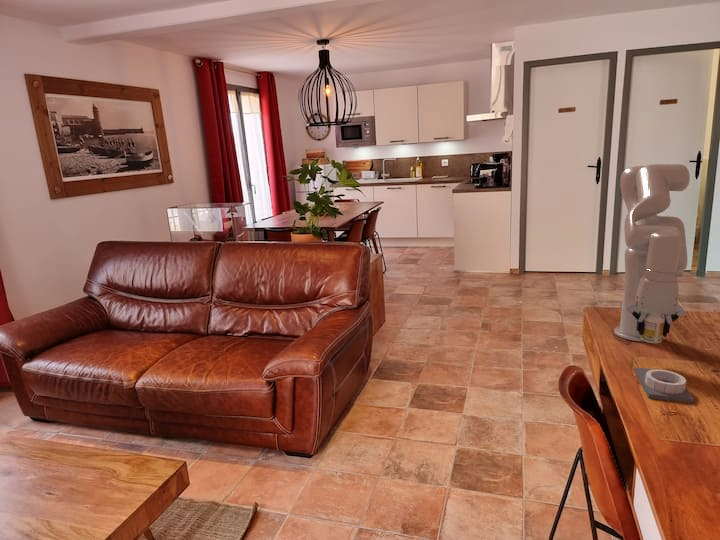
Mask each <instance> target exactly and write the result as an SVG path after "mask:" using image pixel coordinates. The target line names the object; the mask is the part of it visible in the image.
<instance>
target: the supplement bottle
mask: <svg viewBox="0 0 720 540" xmlns="http://www.w3.org/2000/svg"><path fill="white" fill-rule="evenodd" d="M643 321H644V331H643V335H641V339H642V340H644V341H646V343H650V344H659V343H662V341H663V337H664V336H663V330H664V323H665V317H664V315H663V314H646V316H645V318H644V320H643Z"/></svg>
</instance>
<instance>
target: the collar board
mask: <svg viewBox="0 0 720 540" xmlns="http://www.w3.org/2000/svg"><path fill="white" fill-rule="evenodd" d="M634 373H635V375H636V376H637V378H638V380H639V383H640V384H641V386H642V388H643V391H644V392H646V393H645V394H646V396H647V398H648V399H654V400H661V401H670V402H679V403H689V404H695V403H694V401H695V398H694V397H693V396H692V393H691V392H690V391H689V390H688V388H687V380H686V378H685V377H684V376H683V375H681V374H679V373H677V372H676V371H674V370H666V369H656V368H655V369H654V368H645V367H634Z"/></svg>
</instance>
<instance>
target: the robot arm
mask: <svg viewBox="0 0 720 540" xmlns="http://www.w3.org/2000/svg"><path fill="white" fill-rule="evenodd" d="M690 179H691V177H690V172H689V169H688V167H687V166H686V165H684V164H682V163H681V164H678V163H672V164H669V163H665V164H664V163H663V164H662V163H661V164H660V163H657V164H647V165H639V166H637V165H635V166H630V167H628V168H626V169H625V170H623V171H622V173H621V175H620V180H619V181H620V191H621V192H620V193H621V196H622V198H623V199H622V200H623V201H624V203H625V205H626V209H627V214H626V217H625V219H624V227H623V228H624V229H623V230H624V241H625V245H626V247H627V248H625V252H624V287H623V296H622V303H621V314H620V321H619V322H620V323H619V325H618V326H616V327H615V328H614V330H613V332H614V334H615V335H616V336H618V337H620V338H621V339H625V340H628V341H634V342H643V343H644V342H646V341H644V340H642V339H641V335H643V331H644V321H643V320H644V318H645V316H646V314H663V315H662V316H663V317H664V318H665V323H664V330H663V337H666V338H667V336H668V334H670V330H671V329H670V328H671V325H672V324H673V323H674V322H675V321H677V320H678V319H679V318H680V317H682V316H684V315H686V314H687V313H686V311H685V309H684V308H683V307H682V306H681V305H680V303H679V281H678V278H682V277H683V272H685V271H686V269H687V266H688V250H687V249H688V248H687V240H686V230H685V225H684V222H683V221H682V219H681V218H679V217H677V216H669V215H668V216H661V215H658V214H661V213H663V212H665V211H666V210H667V209H668V208H670V205H671V202H672V200H671V195H670V192H683V191H685V190H686V189H687V188H688V186H689V185H690ZM646 343H647V342H646Z"/></svg>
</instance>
